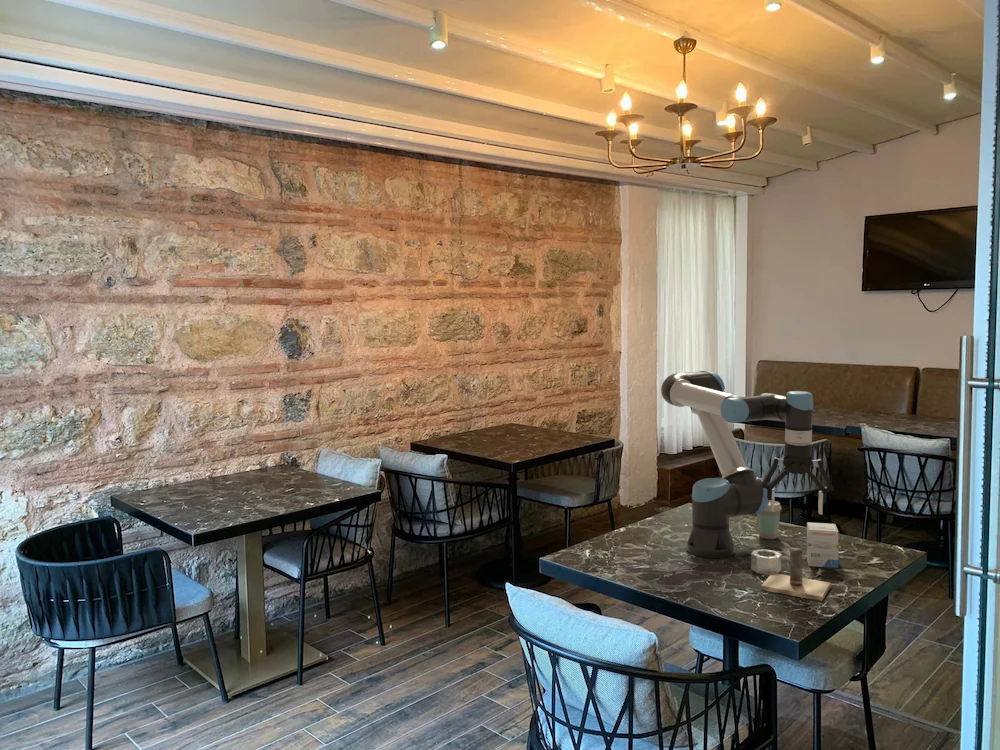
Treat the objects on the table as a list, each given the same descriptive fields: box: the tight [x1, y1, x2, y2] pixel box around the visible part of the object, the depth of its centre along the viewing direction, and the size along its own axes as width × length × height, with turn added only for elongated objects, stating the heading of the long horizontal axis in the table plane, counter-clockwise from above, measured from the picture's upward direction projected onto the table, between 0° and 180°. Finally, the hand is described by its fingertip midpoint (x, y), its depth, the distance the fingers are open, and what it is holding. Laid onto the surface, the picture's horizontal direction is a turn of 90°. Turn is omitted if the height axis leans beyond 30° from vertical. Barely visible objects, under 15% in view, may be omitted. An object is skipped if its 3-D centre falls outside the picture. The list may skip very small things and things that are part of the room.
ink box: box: [806, 521, 840, 569], centre depth 228 cm, size 9×8×12 cm
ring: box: [750, 548, 782, 576], centre depth 223 cm, size 8×8×5 cm
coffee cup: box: [756, 500, 782, 540], centre depth 255 cm, size 8×9×12 cm
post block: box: [760, 547, 832, 602], centre depth 208 cm, size 16×12×11 cm
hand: (796, 512), depth 223 cm, fingers open, 13 cm apart
